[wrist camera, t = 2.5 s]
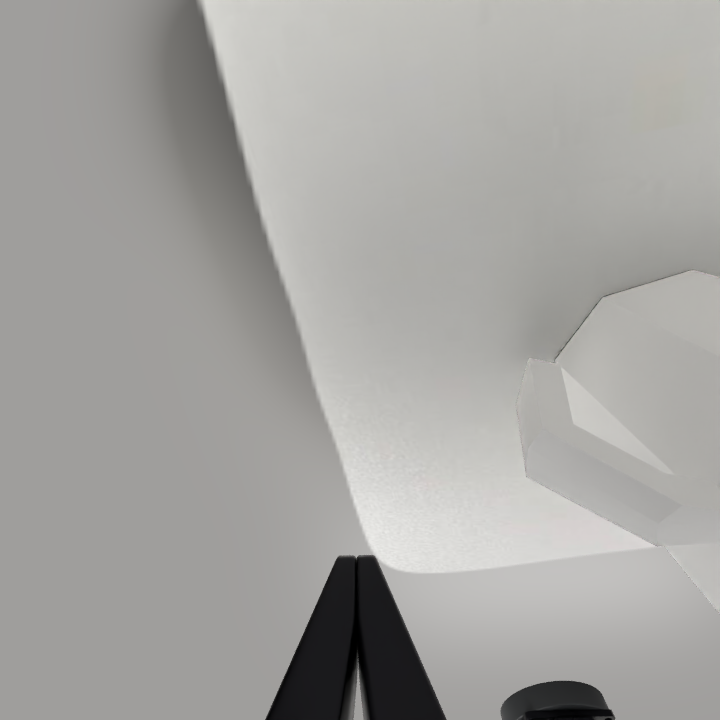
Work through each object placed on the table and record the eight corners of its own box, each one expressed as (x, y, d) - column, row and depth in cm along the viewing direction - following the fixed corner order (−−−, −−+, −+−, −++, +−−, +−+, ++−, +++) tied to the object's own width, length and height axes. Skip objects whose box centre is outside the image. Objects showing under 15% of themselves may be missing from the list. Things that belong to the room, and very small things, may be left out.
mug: (790, 273, 15) (1422, 420, 6) (695, 446, 19) (998, 690, 10) (488, 262, 15) (691, 400, 6) (455, 440, 18) (546, 686, 10)
